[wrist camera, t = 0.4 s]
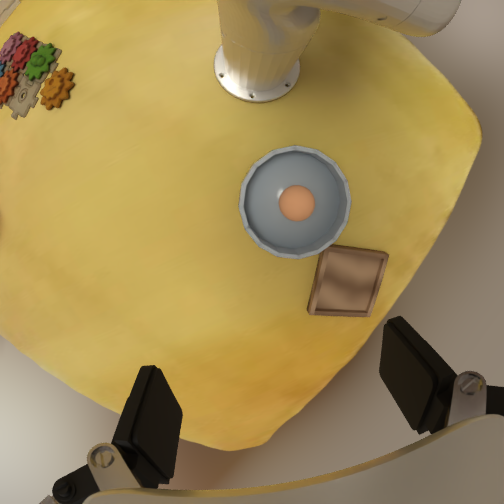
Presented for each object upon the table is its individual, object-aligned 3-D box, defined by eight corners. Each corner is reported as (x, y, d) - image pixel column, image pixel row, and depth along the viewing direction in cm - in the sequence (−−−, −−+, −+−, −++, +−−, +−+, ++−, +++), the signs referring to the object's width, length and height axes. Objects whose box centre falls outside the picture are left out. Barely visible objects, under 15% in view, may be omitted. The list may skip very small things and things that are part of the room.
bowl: (246, 140, 37) (247, 137, 34) (347, 159, 39) (358, 159, 35) (233, 243, 42) (233, 252, 38) (330, 255, 44) (338, 263, 40)
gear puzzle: (95, 62, 31) (84, 55, 28) (48, 143, 35) (35, 143, 31) (17, 31, 24) (7, 27, 21) (-17, 94, 28) (-28, 93, 24)
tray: (321, 243, 43) (325, 246, 41) (384, 251, 44) (389, 254, 42) (306, 309, 46) (309, 314, 45) (366, 312, 48) (370, 317, 46)
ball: (279, 181, 39) (285, 183, 34) (312, 186, 39) (322, 190, 34) (273, 215, 40) (279, 222, 35) (306, 219, 41) (315, 227, 36)
